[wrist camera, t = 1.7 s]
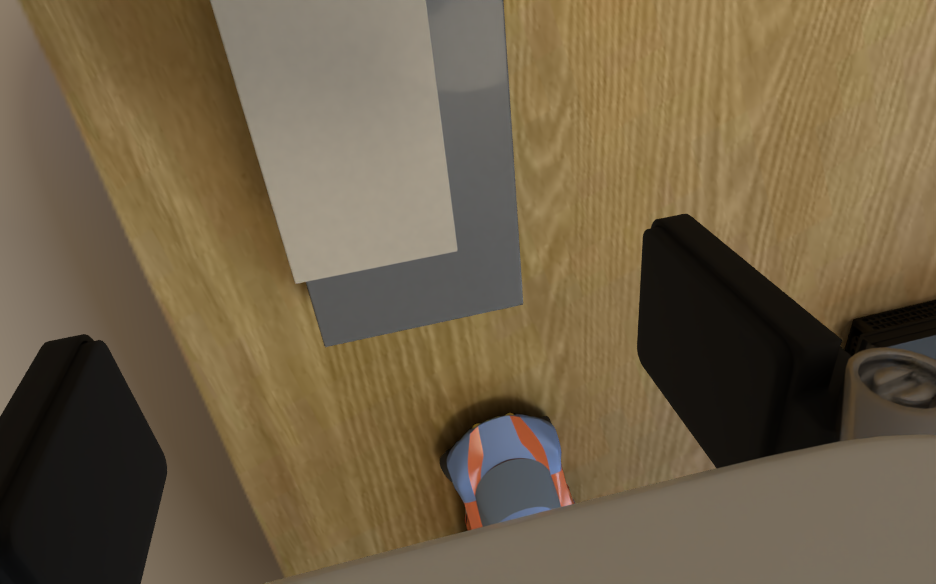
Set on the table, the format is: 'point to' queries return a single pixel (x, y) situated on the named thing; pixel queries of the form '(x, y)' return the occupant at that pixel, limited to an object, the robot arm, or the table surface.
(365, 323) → the grey books
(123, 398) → the robot arm
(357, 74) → the beige flat block
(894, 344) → the game console
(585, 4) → the table surface
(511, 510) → the toy car
